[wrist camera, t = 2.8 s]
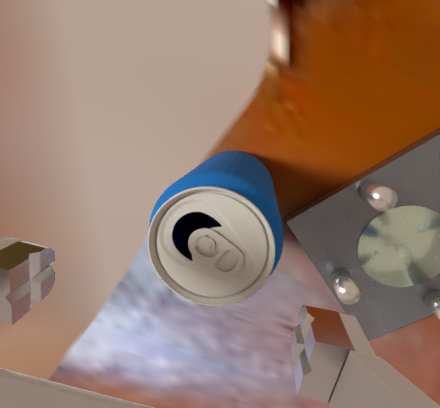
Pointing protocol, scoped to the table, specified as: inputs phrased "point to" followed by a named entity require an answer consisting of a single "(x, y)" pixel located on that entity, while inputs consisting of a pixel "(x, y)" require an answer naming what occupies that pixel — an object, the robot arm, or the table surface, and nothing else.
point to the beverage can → (217, 230)
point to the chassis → (380, 239)
